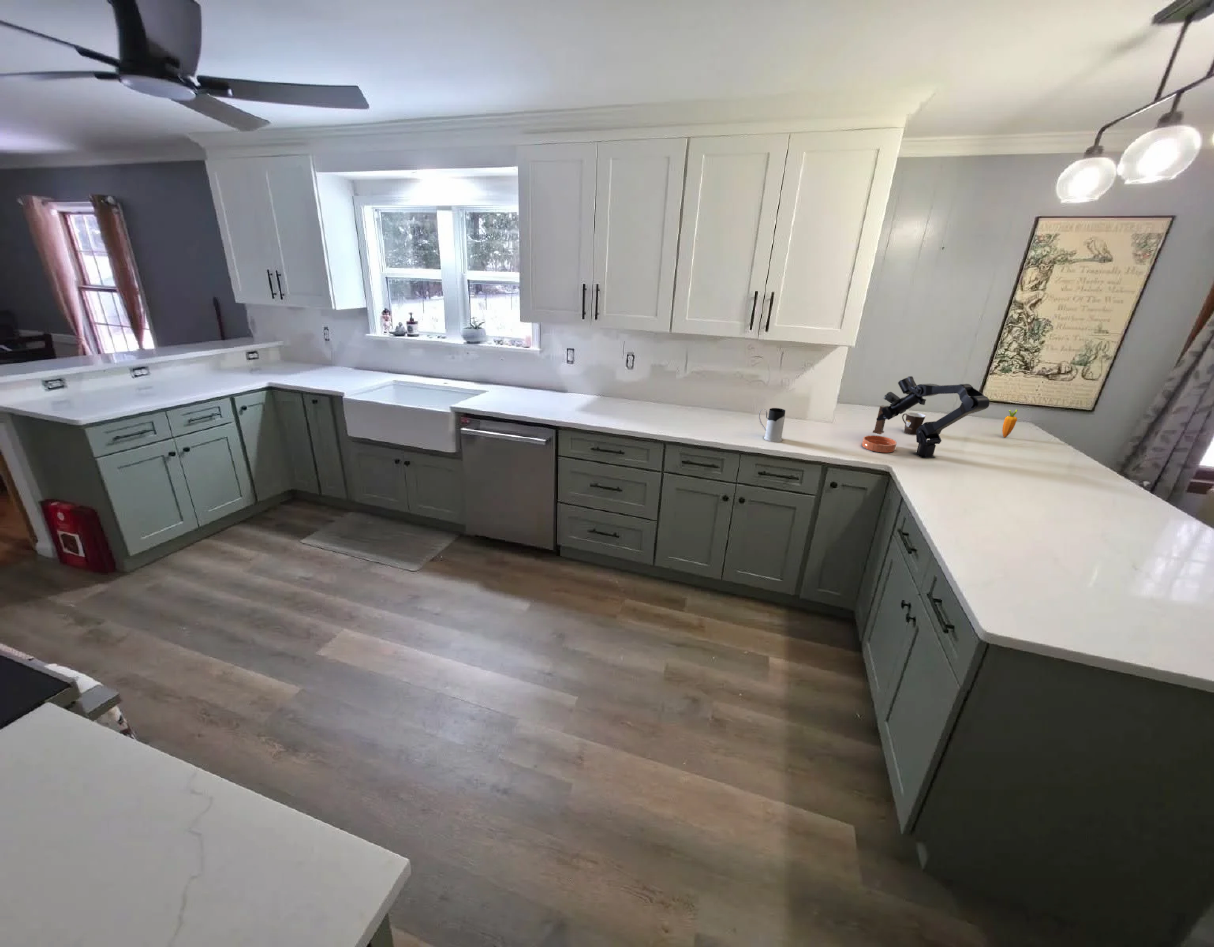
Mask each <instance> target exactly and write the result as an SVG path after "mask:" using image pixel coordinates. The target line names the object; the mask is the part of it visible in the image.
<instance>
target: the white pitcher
mask: <svg viewBox="0 0 1214 947" xmlns="http://www.w3.org/2000/svg"><path fill="white" fill-rule="evenodd" d="M761 411H765V419H767V420H766V426H764V424H763V423H762V419H761ZM785 416H786V409H783V408H780V407H771V408H769V410H766V409H765V408H761V409H760V410H759V411H758V420H759V424H760V425H761V426H762V428H763V429H764V431H765V434H764V437H763V439H764V440H765V441H767V442H772V443H780V442H782V441H783V438H782V437H783V431H784V425H785V419H786V417H785Z"/></svg>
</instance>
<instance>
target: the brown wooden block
mask: <svg viewBox="0 0 1214 947" xmlns="http://www.w3.org/2000/svg"><path fill="white" fill-rule="evenodd" d="M886 406H887V405H884V404H882V405H880V406H879V409H878V413H877V417H876V419H877V418H878V417H879V416H880V415H881V414H882V413H883V412H882V411H881V409H882V408H884V407H886ZM886 421H887V419H885V420H879V421H877V420H876V421H875V425H874V429H873V430H872V433H873V434H877V435H882V434H884V433H885V431H884V428H885V424H886Z"/></svg>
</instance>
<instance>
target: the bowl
mask: <svg viewBox="0 0 1214 947" xmlns="http://www.w3.org/2000/svg"><path fill="white" fill-rule="evenodd" d="M897 444H898V443H897V441H896V440H895V439H893V438H890V437H887V436H882V435H865V436H863V438H862V442H861V446H862V447H863V448H864V449H866V450H868V451H871V452H874V453H875V452H876V453H882V454H883V453H884V454H885V453H886V454H888V453H893V452H895V451H896V448H897V447H896V446H897Z"/></svg>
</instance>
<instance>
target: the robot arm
mask: <svg viewBox="0 0 1214 947" xmlns="http://www.w3.org/2000/svg"><path fill="white" fill-rule="evenodd" d="M914 379H915V378H914V377H913V375H910V376H907V377H905V378H902V379H900V380H899V381H898V382H897V385H898V386H899V388H900V390H901V393H902V394H904V395H905V396H904V397H903V396H902V397H899V395H897V394H896V393H894V392H892V391H889V392H887V393H886V394H884V397H883V400H884V401H887V402H888V403H889V405H885V406H886V407H884V408H882V409H881V411H882V412H883V413H882V414H881V415H880V416H879V417H878V416H877V417H878V418H877V417H876V421H879V420H885V419H886V420H888V421H889V420H892V419H893V418H895V417H897V416H899V415H903V414H905V412H907V410H909V409H911V408H913V407H914V406H916V405H917V404H919V405H922V406H925V405H926V401H927V398H924V397H933V396H937V395H947V394H949V395H951V394H957V395H958V397H959V400H960V402H961V403H960V405H959V406H958V407H957V408H956V409H954V410H952V411H951V412H949V413H947V414H946V415H944V416H942V417H941V418H938V419H937V420H934V421H924V422H923V424H922V425H921V426H918V427H919V428H918V429H917V430H916V435H915V438H916V439H915V440H916V443H917V448H916V451H915V452H913V454H914V455H915V456H918V457H919V458H921V459H935V458H936V456H935V455H934V453H935V449H936V447H937V445H940V444H941V443H942V441H943V440H942V438H941V436H940V434H941V433H942V431H943V430H944V429H946V428H948V427H949V426H952V425H953V424H955V423H956V422H958V421H960V420H961V419H963V418H965V417H967V416H968V415H970V414H974V413H978V412H982V411H984V410H986V409H988V408H989V406H990V398H989V397H988V396H986V395H985V394H983V393H982V392H981V391H980V390H978V389H976V388H975V387H974V386H973V385H972V384H970V383H959V384H945V385H944V384H943V385H940V384H937V383H918V384H917V383H916V381H915V380H914ZM886 420H885V421H886Z"/></svg>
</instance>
